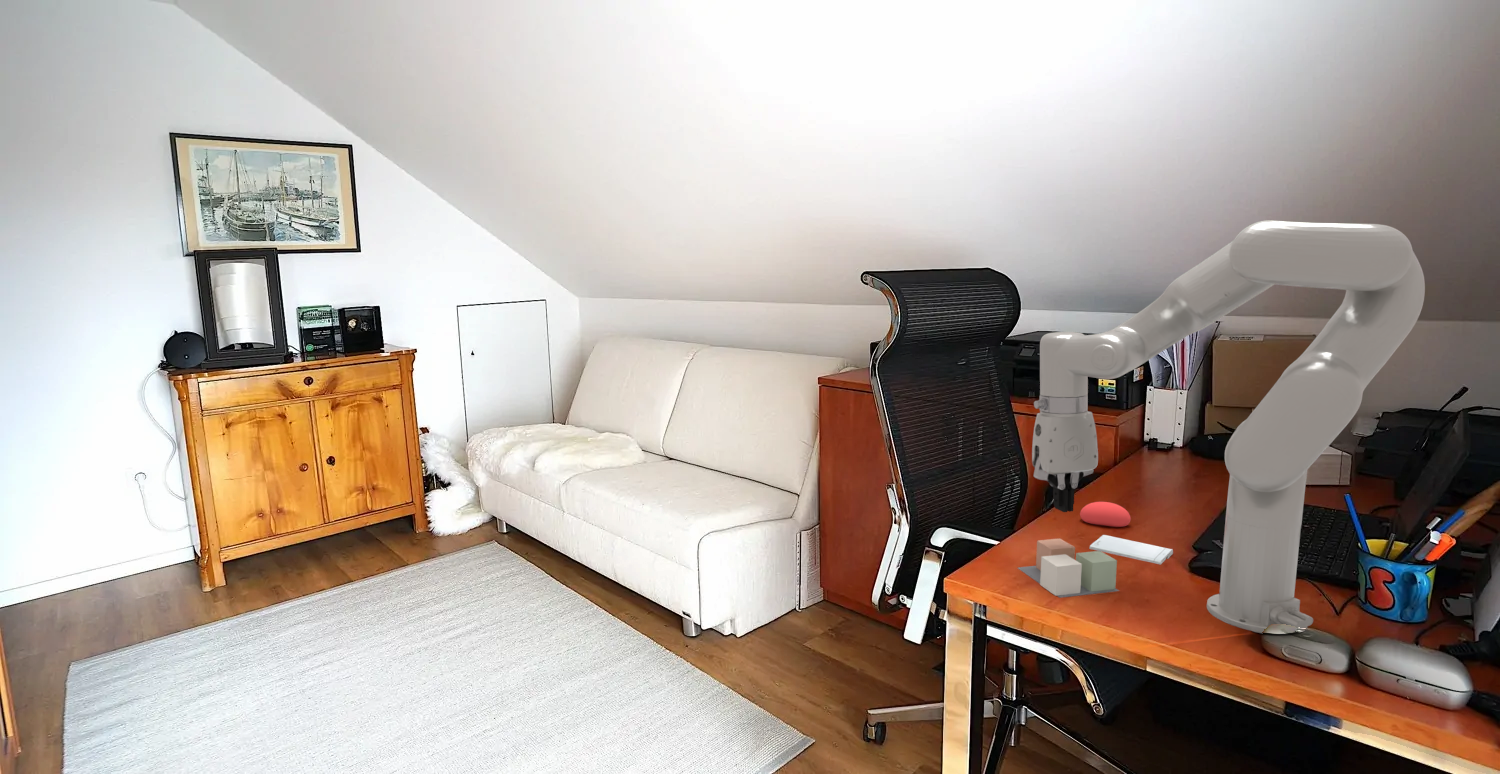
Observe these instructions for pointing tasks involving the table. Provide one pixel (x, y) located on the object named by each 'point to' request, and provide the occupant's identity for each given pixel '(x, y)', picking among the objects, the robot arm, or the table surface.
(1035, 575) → the felt mat
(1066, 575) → the block cream
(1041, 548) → the block terracotta
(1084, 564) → the block sage
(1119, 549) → the hard drive
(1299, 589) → the table surface
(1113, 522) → the stress ball
